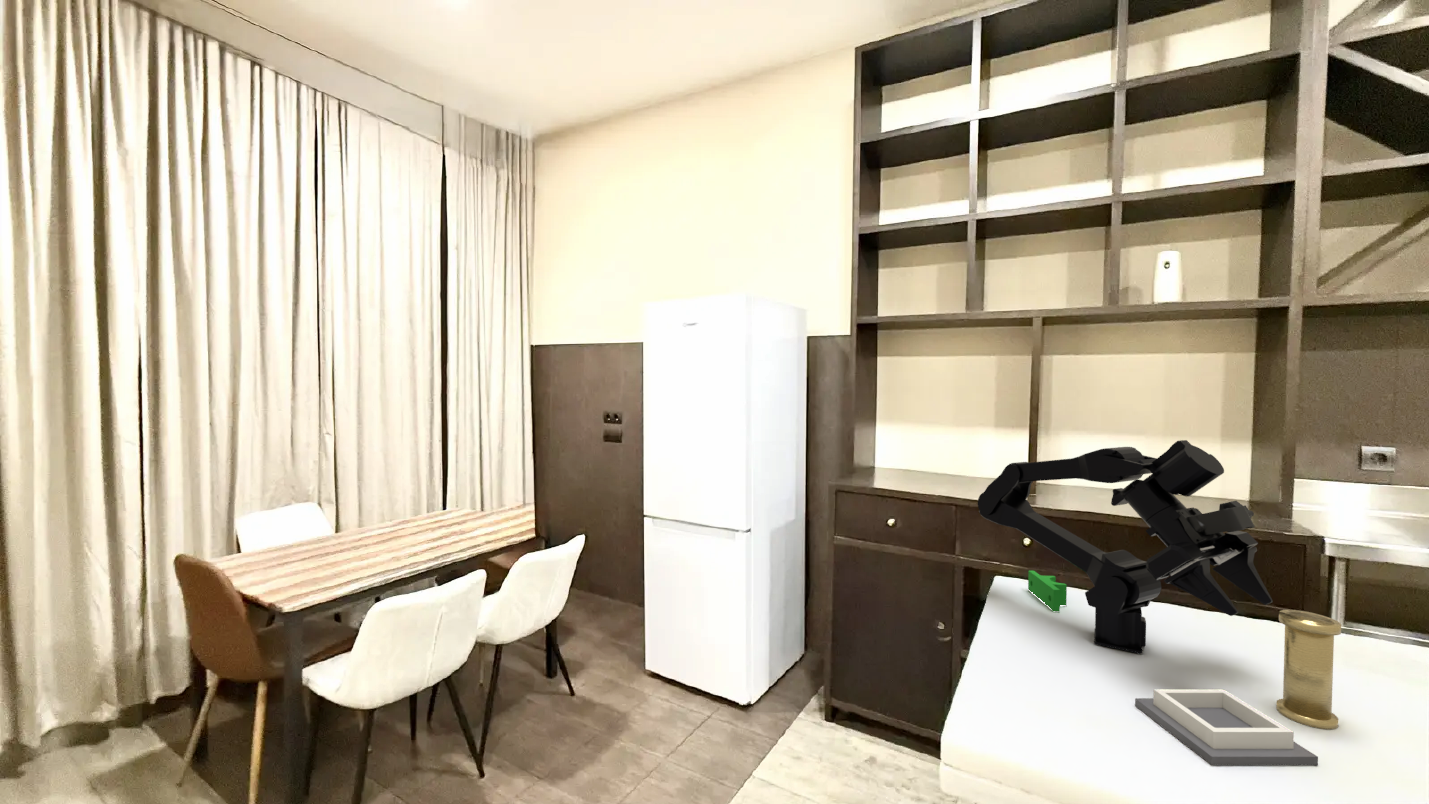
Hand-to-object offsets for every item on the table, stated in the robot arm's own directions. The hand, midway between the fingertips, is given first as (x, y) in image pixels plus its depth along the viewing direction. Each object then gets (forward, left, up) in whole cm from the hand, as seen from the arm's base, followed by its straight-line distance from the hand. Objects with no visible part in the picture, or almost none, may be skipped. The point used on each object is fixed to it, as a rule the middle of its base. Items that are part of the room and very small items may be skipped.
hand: (1252, 608), depth 79 cm
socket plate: (-5, -14, -12) cm, 19 cm away
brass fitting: (+5, -3, -12) cm, 13 cm away
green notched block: (-26, +24, -13) cm, 37 cm away
